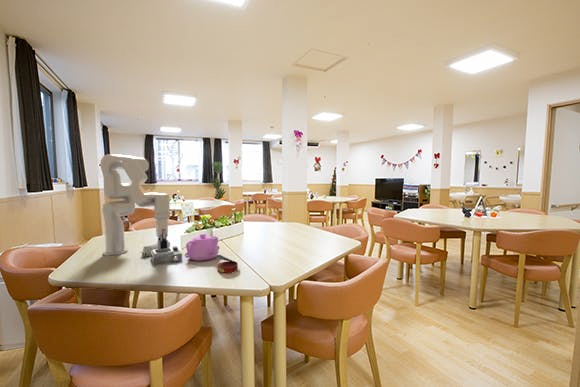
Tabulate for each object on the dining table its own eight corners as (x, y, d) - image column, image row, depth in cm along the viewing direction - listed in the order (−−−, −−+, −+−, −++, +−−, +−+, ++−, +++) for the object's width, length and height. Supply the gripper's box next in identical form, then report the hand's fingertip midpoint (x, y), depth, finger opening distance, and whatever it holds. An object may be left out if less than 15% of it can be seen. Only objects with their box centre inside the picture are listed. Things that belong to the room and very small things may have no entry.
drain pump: (157, 252, 143) (156, 238, 143) (167, 251, 146) (167, 237, 146) (158, 254, 139) (158, 240, 138) (168, 253, 142) (168, 238, 141)
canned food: (218, 278, 129) (215, 258, 132) (238, 273, 132) (234, 254, 136) (218, 275, 119) (215, 254, 122) (240, 270, 122) (236, 250, 126)
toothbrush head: (171, 240, 173) (148, 245, 148) (170, 250, 172) (147, 256, 147) (163, 240, 173) (139, 244, 148) (163, 250, 172) (138, 256, 148)
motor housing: (150, 258, 146) (150, 248, 145) (177, 254, 153) (177, 245, 153) (154, 266, 132) (153, 256, 132) (182, 261, 140) (182, 251, 139)
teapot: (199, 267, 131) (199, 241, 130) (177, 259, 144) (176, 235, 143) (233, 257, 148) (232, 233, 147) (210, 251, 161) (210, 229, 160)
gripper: (152, 214, 147) (153, 243, 148) (156, 218, 132) (156, 251, 133) (167, 213, 151) (167, 242, 152) (172, 217, 136) (172, 249, 137)
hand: (162, 246), depth 143 cm, fingers open, 9 cm apart
